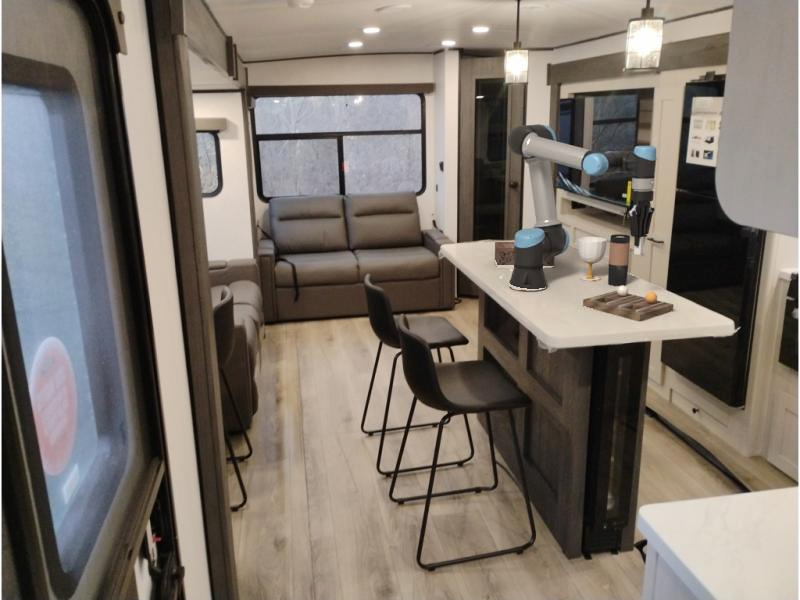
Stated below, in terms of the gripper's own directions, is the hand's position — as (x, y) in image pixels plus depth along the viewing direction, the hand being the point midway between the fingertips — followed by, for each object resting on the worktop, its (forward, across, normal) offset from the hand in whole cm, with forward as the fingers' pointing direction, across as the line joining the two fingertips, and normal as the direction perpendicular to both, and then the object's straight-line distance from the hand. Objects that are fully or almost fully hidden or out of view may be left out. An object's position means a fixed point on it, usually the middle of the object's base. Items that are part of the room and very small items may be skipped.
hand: (638, 254), depth 240 cm
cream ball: (+13, -8, 0) cm, 15 cm away
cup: (+17, +12, +31) cm, 38 cm away
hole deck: (+17, -12, -6) cm, 22 cm away
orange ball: (+13, -8, -12) cm, 19 cm away
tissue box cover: (+17, +10, +68) cm, 71 cm away
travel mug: (+17, +14, +18) cm, 29 cm away
